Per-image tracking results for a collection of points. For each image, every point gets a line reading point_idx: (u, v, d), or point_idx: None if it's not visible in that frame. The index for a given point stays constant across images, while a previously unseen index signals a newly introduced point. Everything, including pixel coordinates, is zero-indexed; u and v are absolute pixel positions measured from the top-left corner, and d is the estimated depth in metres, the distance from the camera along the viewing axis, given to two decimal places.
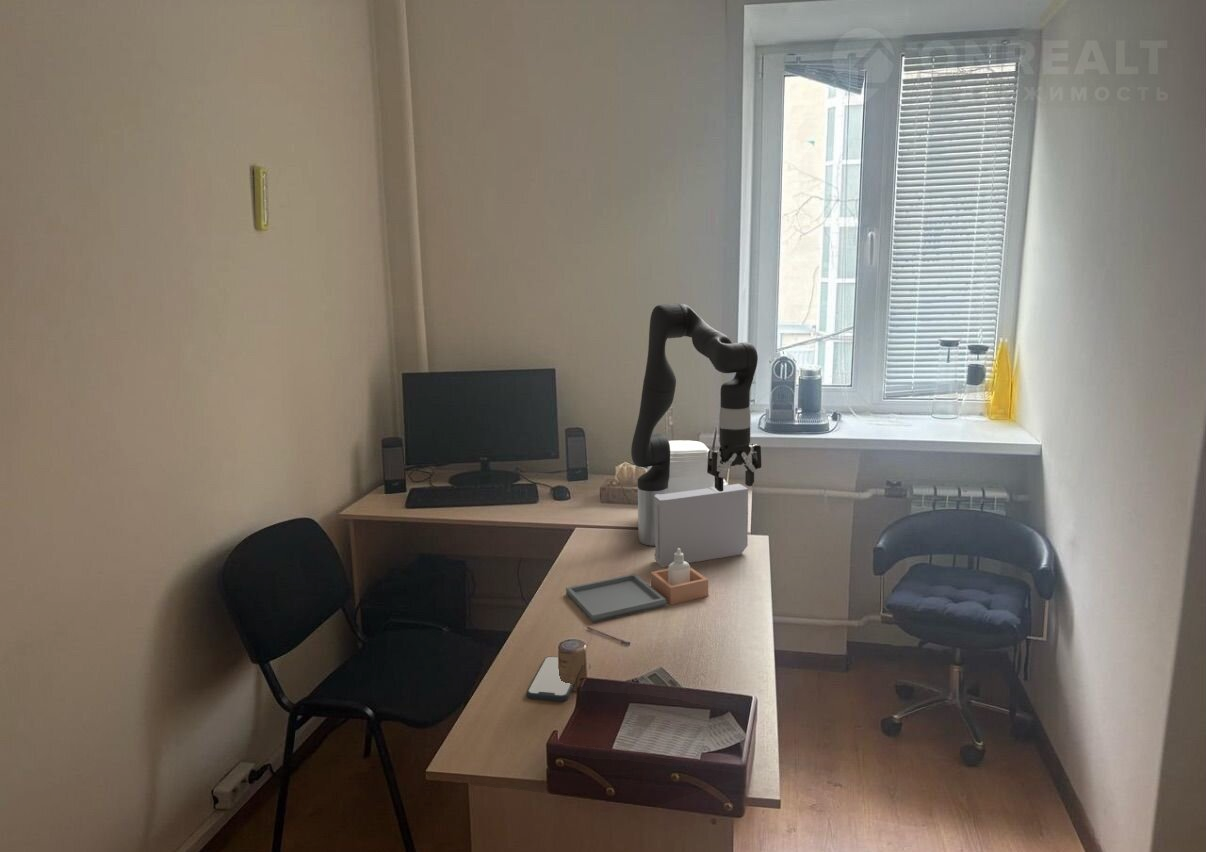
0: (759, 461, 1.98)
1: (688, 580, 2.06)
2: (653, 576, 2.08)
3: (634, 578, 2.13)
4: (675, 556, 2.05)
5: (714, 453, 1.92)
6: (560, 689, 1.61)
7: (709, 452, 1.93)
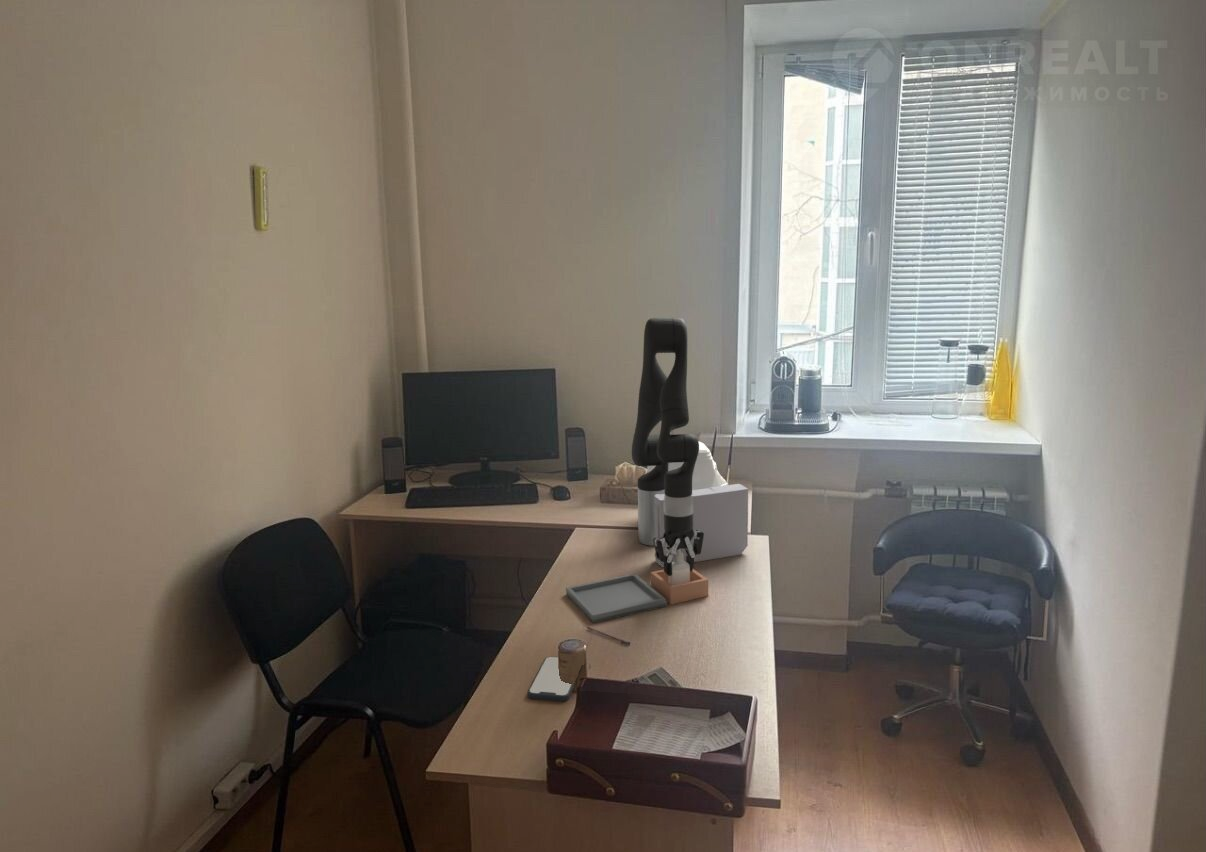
0: (700, 547, 2.06)
1: (688, 580, 2.06)
2: (653, 576, 2.08)
3: (634, 578, 2.13)
4: (675, 556, 2.05)
5: (658, 542, 2.01)
6: (561, 689, 1.61)
7: (654, 540, 2.02)
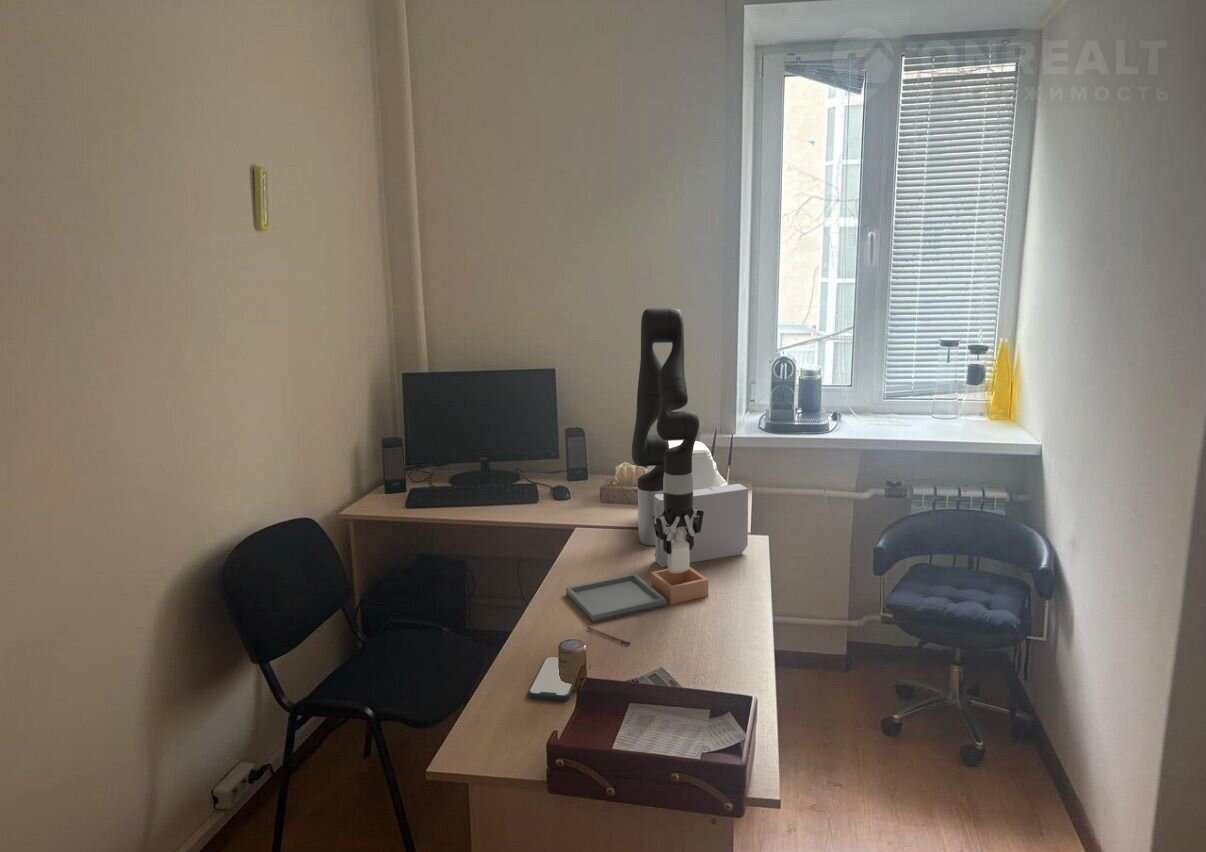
0: (699, 526, 2.05)
1: (688, 558, 2.05)
2: (653, 576, 2.08)
3: (634, 578, 2.13)
4: (675, 534, 2.04)
5: (657, 520, 1.99)
6: (562, 689, 1.61)
7: (653, 518, 2.01)
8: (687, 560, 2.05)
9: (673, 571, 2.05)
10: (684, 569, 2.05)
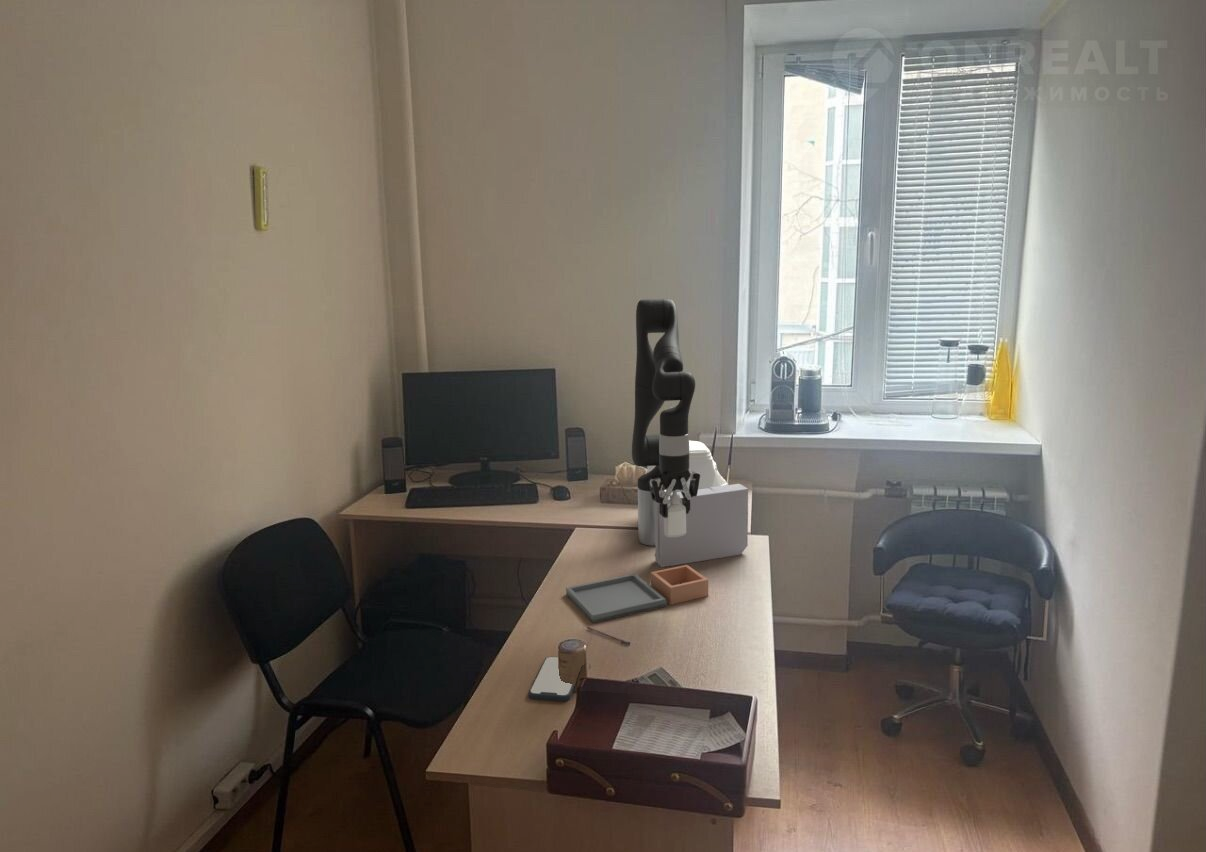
0: (696, 489, 2.02)
1: (684, 522, 2.03)
2: (653, 576, 2.08)
3: (634, 578, 2.13)
4: (671, 498, 2.01)
5: (653, 482, 1.97)
6: (562, 689, 1.61)
7: (649, 481, 1.98)
8: (684, 524, 2.03)
9: (669, 535, 2.02)
10: (681, 533, 2.03)
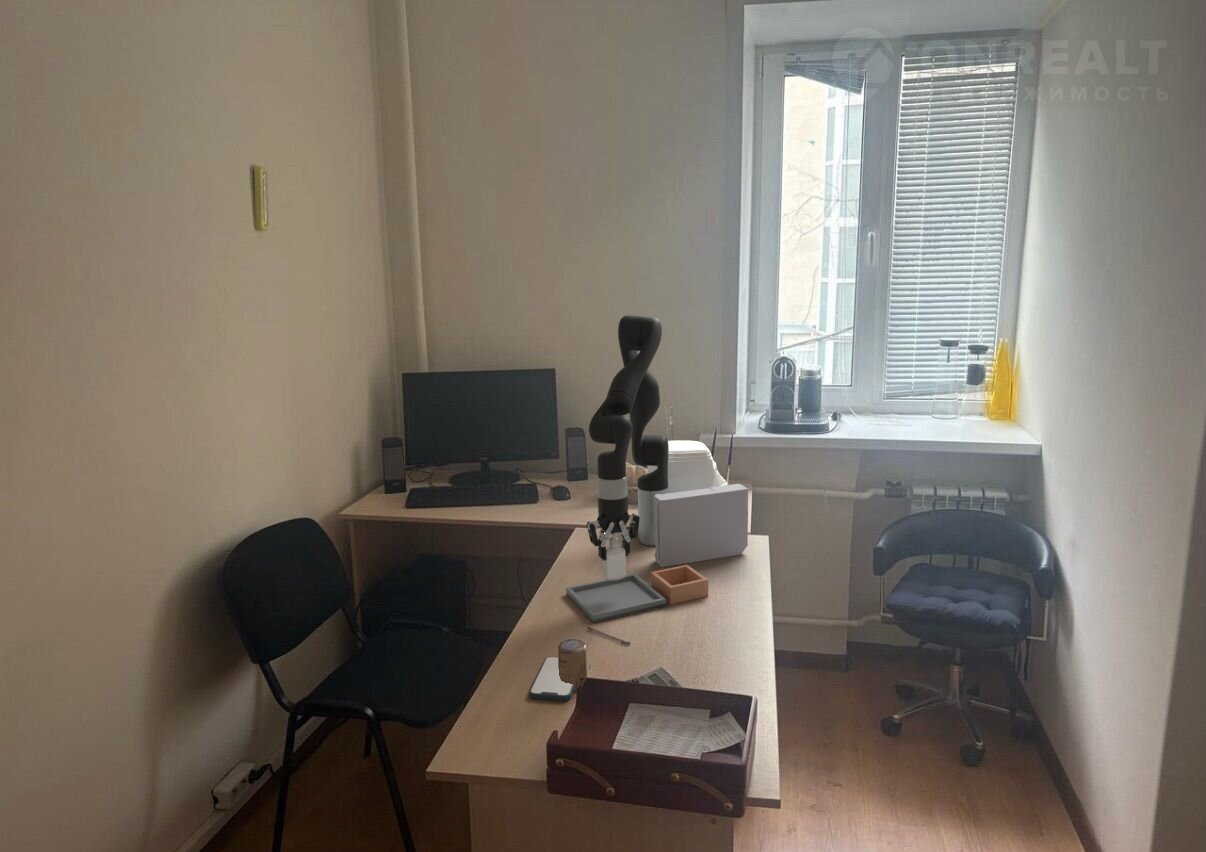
0: (635, 532, 2.01)
1: (624, 565, 2.01)
2: (653, 576, 2.08)
3: (634, 578, 2.13)
4: (610, 540, 1.99)
5: (591, 526, 1.95)
6: (563, 689, 1.61)
7: (587, 524, 1.97)
8: (623, 567, 2.01)
9: (609, 578, 2.00)
10: (620, 576, 2.01)
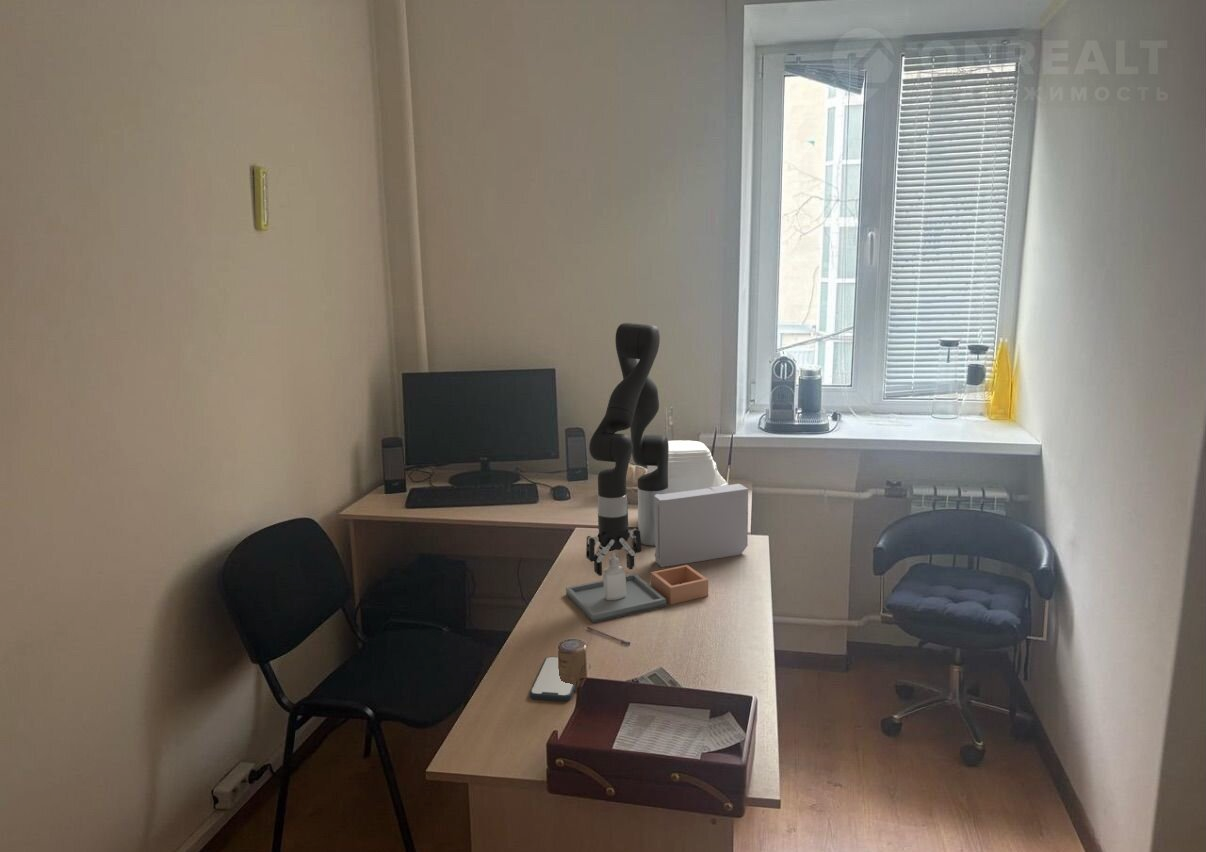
0: (639, 545, 2.02)
1: (624, 585, 2.03)
2: (653, 576, 2.08)
3: (634, 578, 2.13)
4: (610, 561, 2.01)
5: (591, 540, 1.96)
6: (563, 689, 1.61)
7: (587, 538, 1.98)
8: (623, 587, 2.02)
9: (609, 598, 2.02)
10: (620, 596, 2.02)
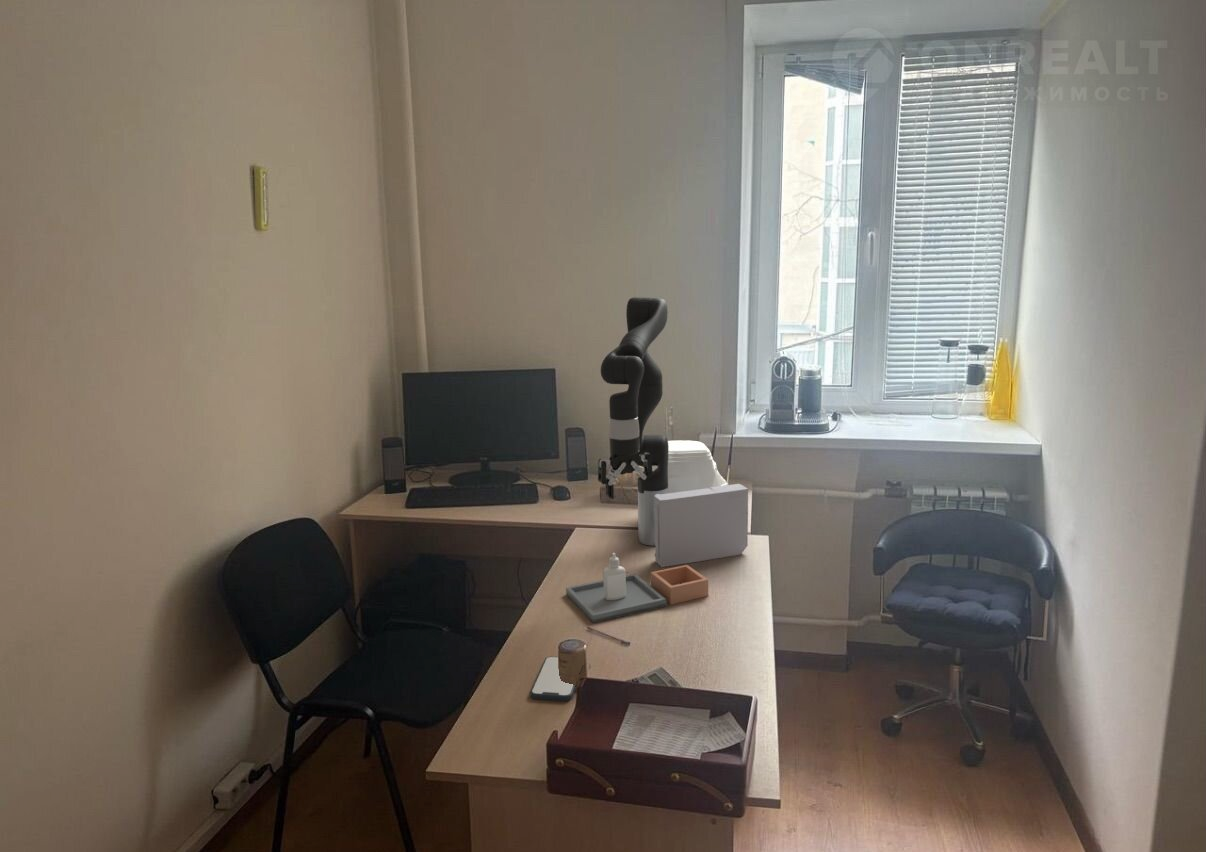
0: (650, 469, 2.04)
1: (624, 585, 2.03)
2: (653, 576, 2.08)
3: (634, 578, 2.13)
4: (610, 561, 2.01)
5: (603, 462, 1.98)
6: (564, 689, 1.61)
7: (599, 461, 1.99)
8: (623, 587, 2.02)
9: (609, 598, 2.02)
10: (620, 596, 2.02)
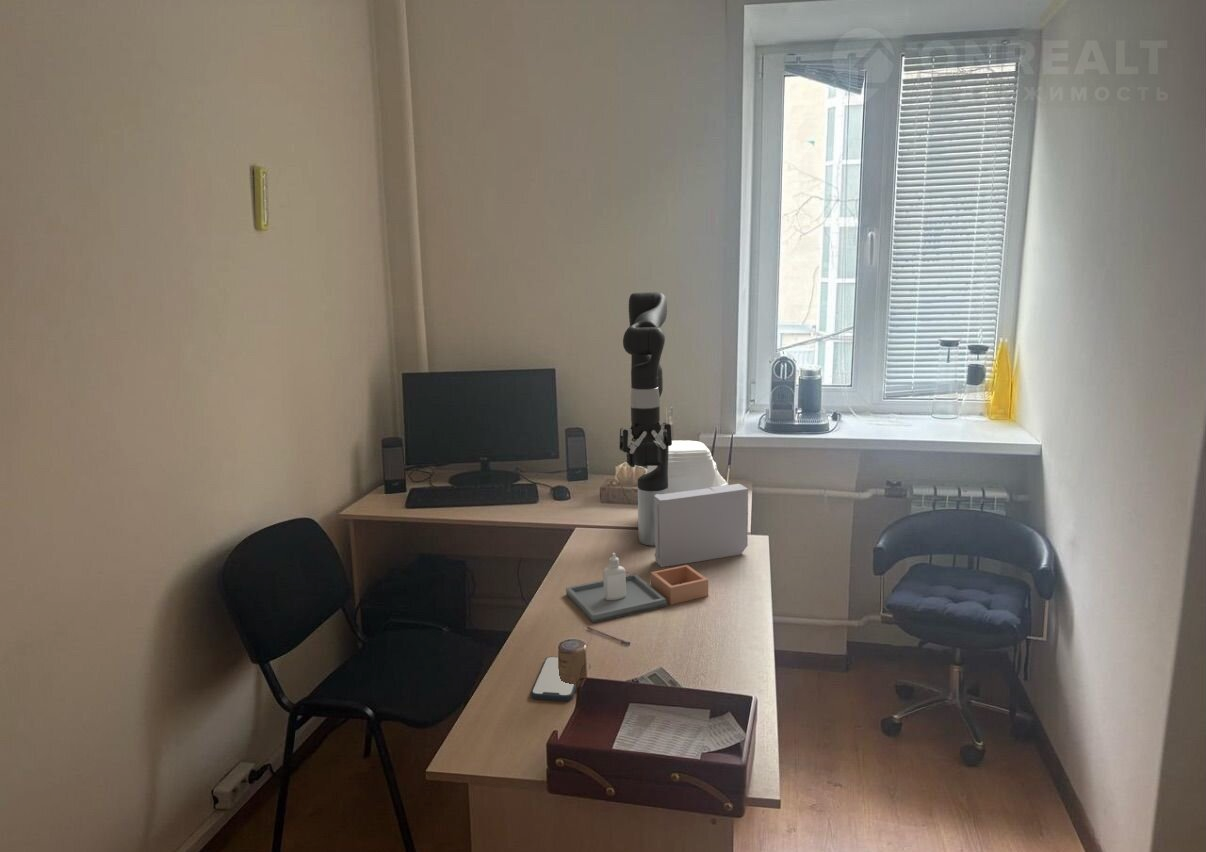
0: (669, 439, 2.10)
1: (624, 585, 2.03)
2: (653, 576, 2.08)
3: (634, 578, 2.13)
4: (610, 561, 2.01)
5: (625, 431, 2.04)
6: (564, 689, 1.61)
7: (621, 430, 2.06)
8: (623, 587, 2.02)
9: (609, 598, 2.02)
10: (620, 596, 2.02)
